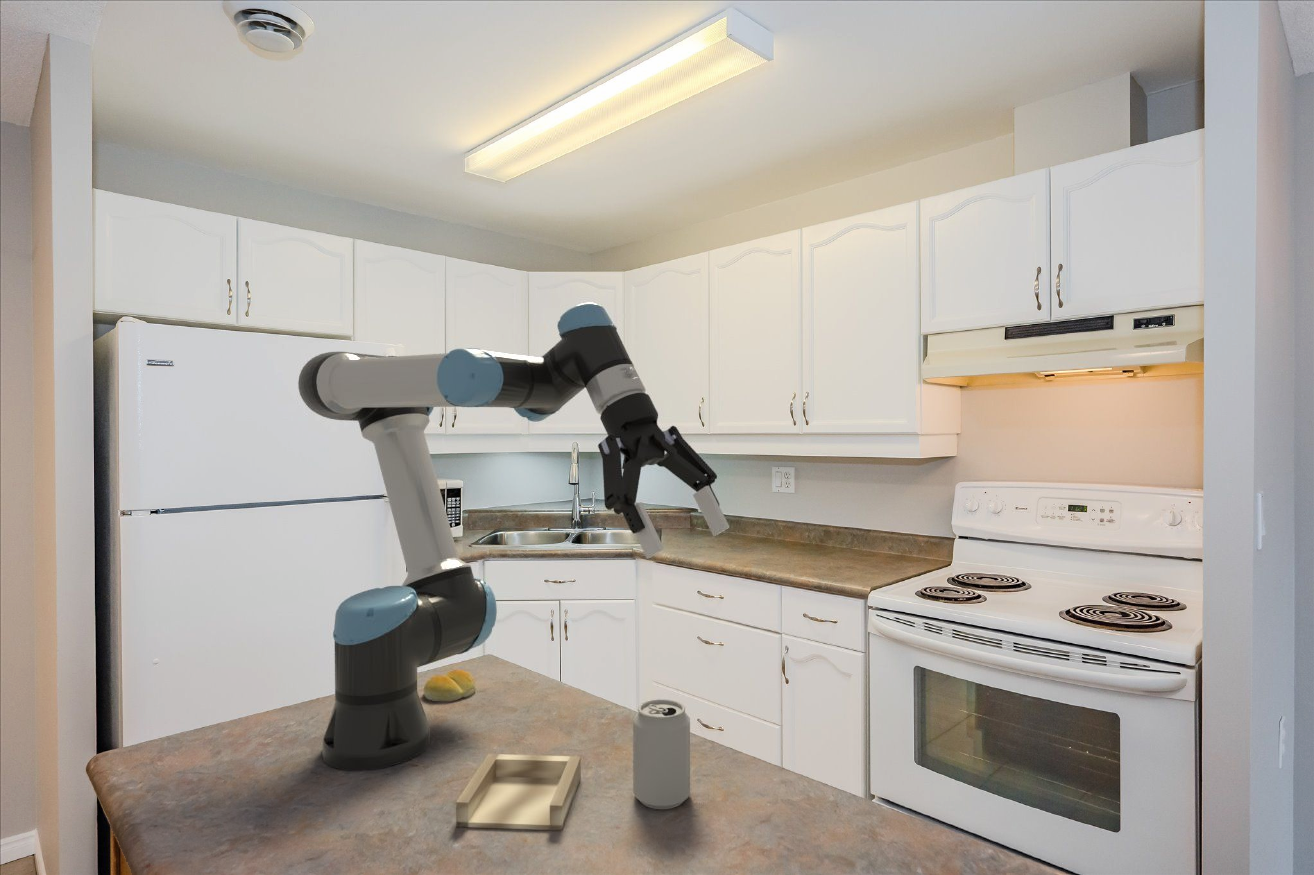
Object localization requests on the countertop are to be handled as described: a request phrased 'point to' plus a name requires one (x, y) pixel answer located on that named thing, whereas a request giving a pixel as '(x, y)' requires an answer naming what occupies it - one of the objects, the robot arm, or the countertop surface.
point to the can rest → (520, 792)
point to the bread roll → (449, 686)
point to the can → (661, 754)
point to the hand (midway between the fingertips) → (690, 542)
